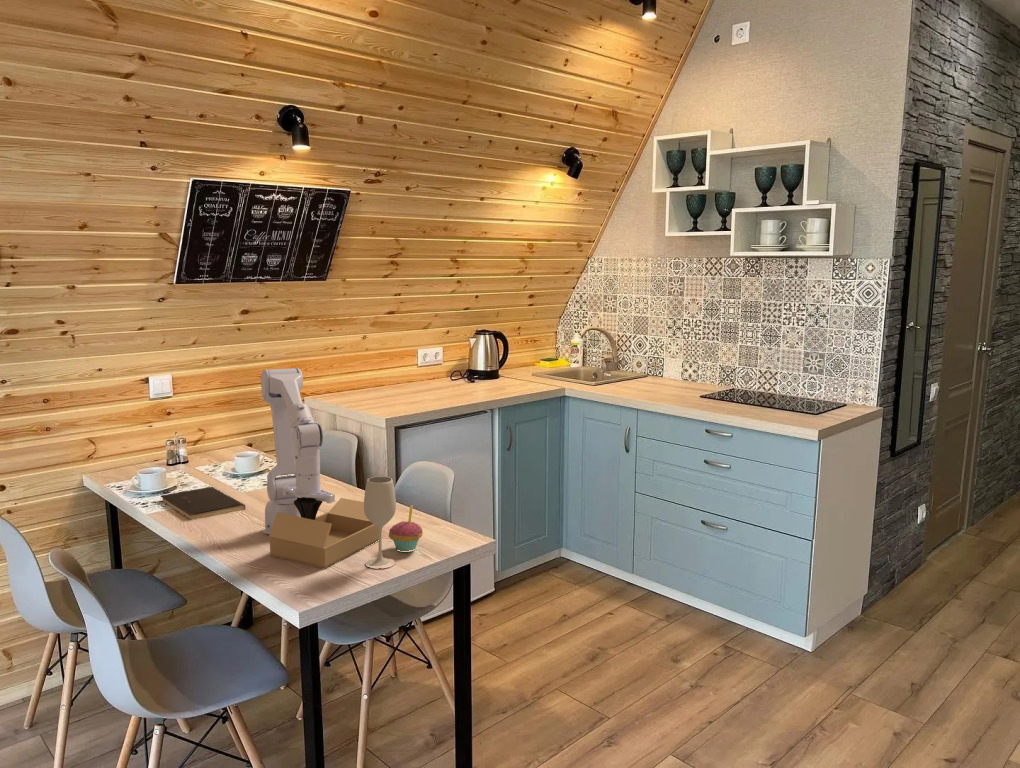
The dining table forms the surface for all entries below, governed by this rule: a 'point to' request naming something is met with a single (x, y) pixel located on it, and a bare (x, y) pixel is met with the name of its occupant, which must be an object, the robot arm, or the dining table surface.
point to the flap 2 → (349, 508)
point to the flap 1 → (300, 530)
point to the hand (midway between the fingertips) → (309, 526)
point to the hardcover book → (202, 502)
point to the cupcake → (405, 534)
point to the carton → (329, 542)
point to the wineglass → (379, 509)
